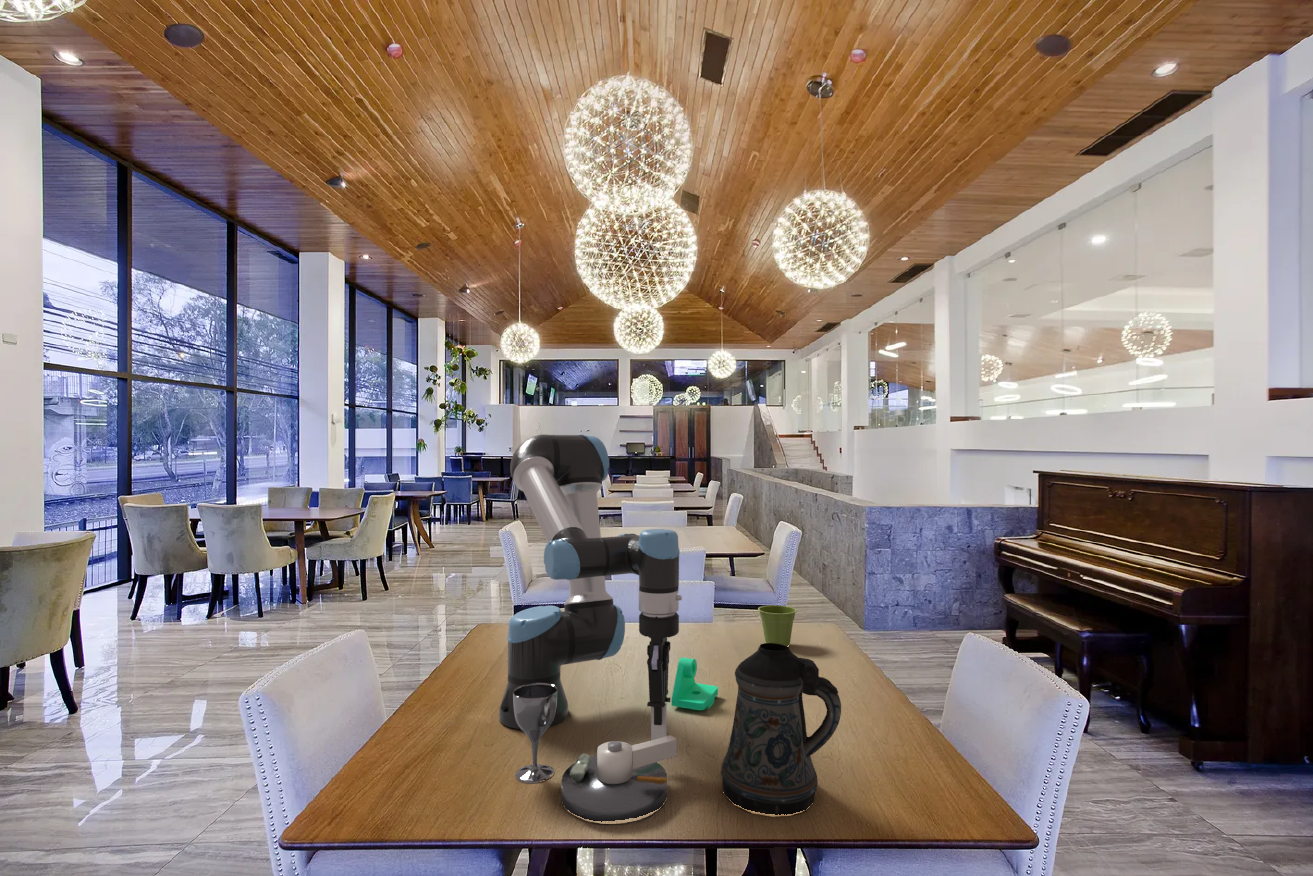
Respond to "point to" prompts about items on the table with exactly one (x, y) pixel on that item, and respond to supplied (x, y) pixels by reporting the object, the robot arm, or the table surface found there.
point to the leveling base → (612, 791)
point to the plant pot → (777, 623)
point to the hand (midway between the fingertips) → (658, 739)
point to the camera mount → (691, 688)
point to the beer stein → (776, 732)
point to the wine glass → (534, 723)
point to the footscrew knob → (631, 757)
